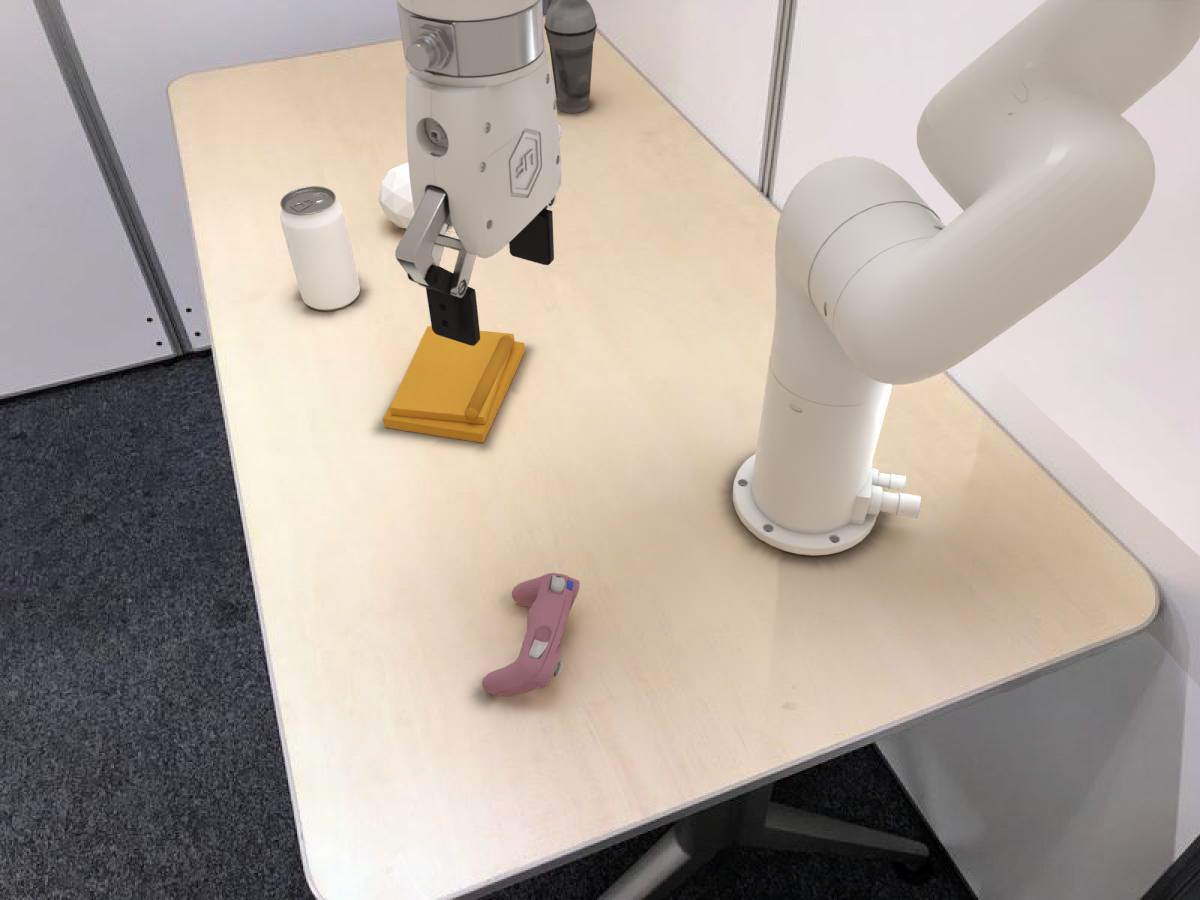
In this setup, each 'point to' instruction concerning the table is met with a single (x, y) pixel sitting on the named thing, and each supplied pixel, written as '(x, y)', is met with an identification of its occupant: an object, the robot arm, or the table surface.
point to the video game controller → (537, 635)
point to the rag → (455, 386)
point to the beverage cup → (571, 51)
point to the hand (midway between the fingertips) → (496, 296)
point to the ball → (397, 196)
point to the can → (319, 248)
